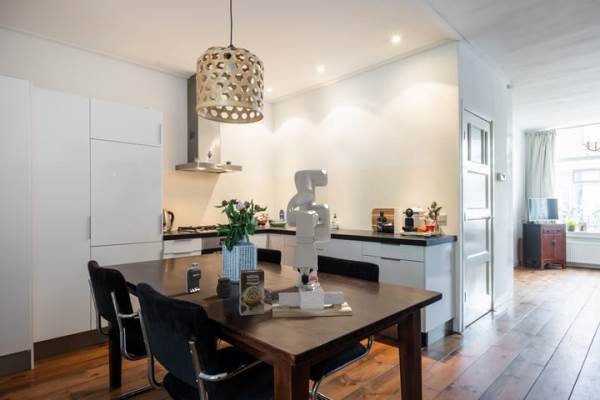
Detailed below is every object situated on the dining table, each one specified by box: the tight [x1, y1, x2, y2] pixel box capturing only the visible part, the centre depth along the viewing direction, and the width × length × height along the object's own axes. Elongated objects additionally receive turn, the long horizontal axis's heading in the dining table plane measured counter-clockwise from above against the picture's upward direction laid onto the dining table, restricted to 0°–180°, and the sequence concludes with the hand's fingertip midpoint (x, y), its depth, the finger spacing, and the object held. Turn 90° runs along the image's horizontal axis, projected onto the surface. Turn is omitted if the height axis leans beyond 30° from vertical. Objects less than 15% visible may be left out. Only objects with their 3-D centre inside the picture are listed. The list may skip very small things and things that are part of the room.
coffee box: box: [238, 268, 265, 316], centre depth 135 cm, size 9×6×16 cm
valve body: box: [278, 286, 345, 311], centre depth 136 cm, size 7×25×7 cm, turn 95°
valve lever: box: [308, 275, 319, 289], centre depth 143 cm, size 16×3×2 cm, turn 172°
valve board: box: [271, 301, 354, 319], centre depth 136 cm, size 12×30×3 cm, turn 95°
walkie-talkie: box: [264, 287, 278, 304], centre depth 155 cm, size 9×4×20 cm
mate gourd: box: [215, 273, 233, 298], centre depth 160 cm, size 7×8×10 cm
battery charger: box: [185, 267, 202, 294], centre depth 166 cm, size 7×4×11 cm, turn 145°
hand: (305, 284), depth 147 cm, fingers closed
